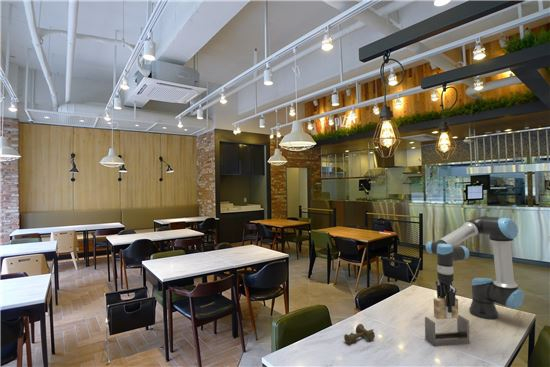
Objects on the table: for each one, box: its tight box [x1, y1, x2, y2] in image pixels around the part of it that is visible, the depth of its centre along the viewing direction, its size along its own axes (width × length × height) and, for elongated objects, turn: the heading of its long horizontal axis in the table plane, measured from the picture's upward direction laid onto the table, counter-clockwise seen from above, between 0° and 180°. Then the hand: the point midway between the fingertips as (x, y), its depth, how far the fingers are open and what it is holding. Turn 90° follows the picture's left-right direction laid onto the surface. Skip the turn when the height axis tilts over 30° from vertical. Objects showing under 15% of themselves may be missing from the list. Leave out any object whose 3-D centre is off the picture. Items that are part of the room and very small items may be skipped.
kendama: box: [343, 323, 376, 346], centre depth 159 cm, size 6×10×20 cm
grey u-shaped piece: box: [424, 314, 470, 347], centre depth 156 cm, size 20×7×12 cm, turn 96°
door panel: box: [433, 297, 459, 320], centre depth 156 cm, size 12×3×10 cm, turn 96°
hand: (446, 316), depth 156 cm, fingers closed on door panel, 3 cm apart
